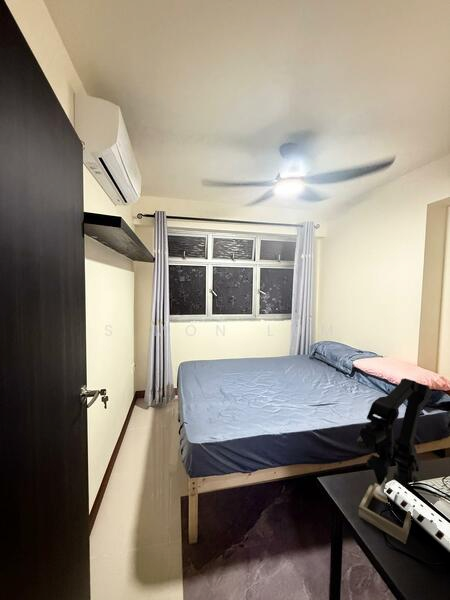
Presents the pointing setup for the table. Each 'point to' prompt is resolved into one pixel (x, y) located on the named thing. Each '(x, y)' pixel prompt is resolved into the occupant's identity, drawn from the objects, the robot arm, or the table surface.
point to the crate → (383, 519)
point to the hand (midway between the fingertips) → (383, 476)
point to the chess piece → (381, 490)
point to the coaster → (379, 496)
